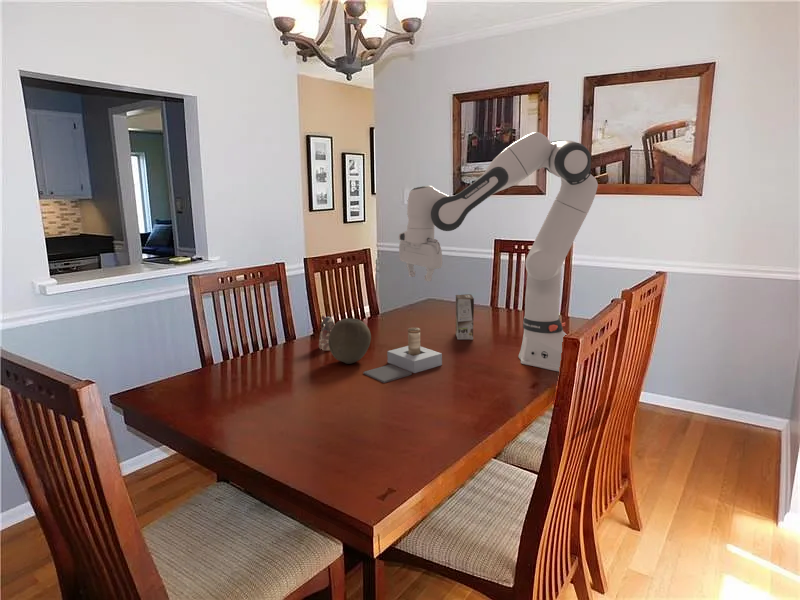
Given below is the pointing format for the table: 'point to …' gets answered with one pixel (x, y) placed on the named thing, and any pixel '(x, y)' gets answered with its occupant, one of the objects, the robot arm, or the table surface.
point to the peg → (414, 341)
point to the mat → (387, 373)
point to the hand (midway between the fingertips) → (419, 278)
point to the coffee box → (464, 316)
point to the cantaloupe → (349, 340)
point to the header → (414, 359)
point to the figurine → (325, 332)
